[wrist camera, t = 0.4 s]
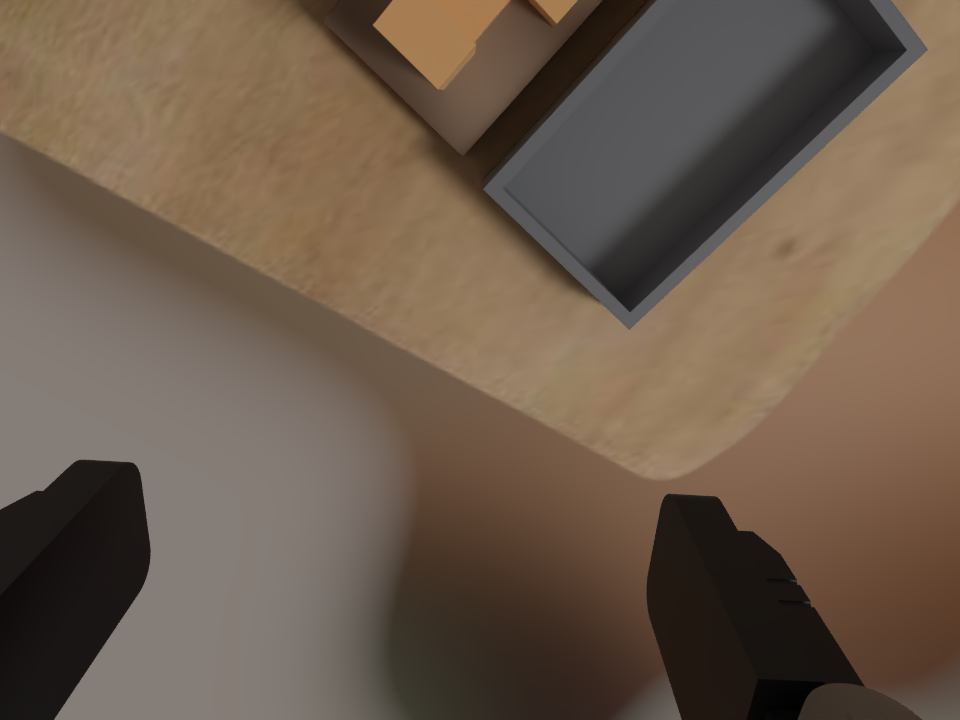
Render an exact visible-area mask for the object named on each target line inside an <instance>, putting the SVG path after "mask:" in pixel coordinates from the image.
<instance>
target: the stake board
mask: <svg viewBox="0 0 960 720" xmlns="http://www.w3.org/2000/svg"><path fill="white" fill-rule="evenodd" d="M392 1H393V0H339V2H338V3H337V4H336V6H335V7H334V8H333V9H332V11H331V12H330V13H329V15H328V16H327V17H326V18H325V20H324V21H323V22H324V23H325V24H326V25H327V26H328V27H329V28H330V29H331V30H332V31H333V32H334V33H335V34H336V35H337V36H338V37H339V38H340V39H341V40H342V41H343V42H344V43H345V44H346V45H347V46H348V47H350V48H351V49H352V50H353V51H354V52H355V53H356V54H357V55H358V56H359V57H360V58H361V59H362V60H363V61H364V62H365V63H366V64H367V65H368V66H369V67H370V68H371V69H372V70H373V71H374V72H375V73H376V74H377V75H378V76H380V77H381V78H382V79H383V80H384V81H385V82H386V83H387V84H388V85H389V86H390V87H391V88H392V89H393V90H394V91H395V92H396V93H397V94H398V95H399V96H400V97H401V98H402V99H403V100H404V101H405V102H406V103H407V104H409V105H410V106H411V107H412V108H413V109H414V110H415V111H416V112H417V113H418V114H419V115H420V116H421V117H422V118H423V119H424V120H425V121H426V122H427V123H428V124H429V125H430V126H431V127H432V128H433V129H434V130H435V131H436V132H438V133H439V134H440V135H441V136H442V137H443V138H444V139H445V140H446V141H447V142H448V143H449V144H450V145H451V146H452V147H453V148H454V149H455V150H456V151H457V152H458V153H459V154H460V155H461V156H462V157H463V156H464V155H465V154H466V153H467V151H468V150H469V149H470V148H471V147H472V146H473V145H474V144H475V142H476V141H477V140H478V139H479V138H480V137H481V136H482V135H483V134H484V132H485V131H486V130H487V129H488V128H489V127H490V126H491V125H492V123H493V122H494V121H495V120H496V119H497V118H498V117H499V116H500V115H501V113H502V112H503V111H504V110H505V109H506V108H507V107H508V106H509V104H510V103H511V102H512V101H513V100H514V99H515V98H516V97H517V96H518V94H519V93H520V92H521V91H522V90H523V89H524V88H525V87H526V85H527V84H528V83H529V82H530V81H531V80H532V79H533V78H534V76H535V75H536V74H537V73H538V72H539V71H540V70H541V69H542V68H543V66H544V65H545V64H546V63H547V62H548V61H549V60H550V59H551V57H552V56H553V55H554V54H555V53H556V52H557V51H558V50H559V49H560V47H561V46H562V45H563V44H564V43H565V42H566V41H567V40H568V38H569V37H570V36H571V35H572V34H573V33H574V32H575V31H576V30H577V28H578V27H579V26H580V25H581V24H582V23H583V22H584V21H585V19H586V18H587V17H588V16H589V15H590V14H591V13H592V12H593V11H594V9H595V8H596V7H597V6H598V5H599V4H600V3H601V2H602V0H578V1H577V2H576V3H575V4H574V5H573V6H572V7H571V8H570V10H569V11H568V12H567V13H566V14H565V15H564V16H563V18H562V19H561V20H560V21H559V22H558V23H557V24H556V25H555V26H554V27H552V26H551V25H550V24H549V22H548V21H547V20H546V19H545V18H544V17H543V16H542V15H541V14H540V13H539V12H538V11H537V9H536V8H535V7H534V6H533V5H532V4H531V3H530V2H529V1H528V0H511V1H510V2H509V3H508V4H507V5H506V7H505V8H504V9H503V10H502V11H501V12H500V14H499V15H498V16H497V17H496V18H495V19H494V21H493V22H492V23H491V24H490V25H489V27H488V28H487V29H486V30H485V31H484V32H483V34H482V35H481V36H480V37H479V38H478V39H477V41H476V42H475V44H476V51H475V54H474V55H473V57H472V58H471V59H470V60H469V61H468V62H467V64H466V65H465V66H464V67H463V68H462V69H461V71H460V72H459V73H458V74H457V75H456V76H455V78H454V79H453V80H452V81H451V82H450V83H449V85H448V86H447V87H446V88H445V89H444V90H439V89H437V88H436V87H435V86H434V85H433V84H432V83H431V82H430V81H429V80H428V79H427V78H426V77H425V76H424V75H423V74H422V73H421V72H420V71H419V70H418V69H417V68H416V67H415V66H414V65H413V64H412V63H411V62H410V61H409V60H408V59H407V58H405V57H404V56H403V55H402V54H401V53H400V52H399V51H398V50H397V49H396V48H395V47H394V46H393V45H392V44H391V43H390V42H389V41H388V40H387V39H386V38H385V37H384V36H383V35H382V34H381V33H380V32H379V31H378V30H377V29H376V28H375V27H374V26H373V24H374V23H375V22H376V21H377V19H378V18H379V17H380V16H381V14H382V13H383V12H384V11H385V9H386V8H387V7H388V6H389V4H390V3H391V2H392Z"/></svg>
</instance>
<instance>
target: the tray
mask: <svg viewBox="0 0 960 720" xmlns="http://www.w3.org/2000/svg"><path fill="white" fill-rule="evenodd" d="M927 50H928V49H927V48H926V46H925V45H924V44H923V42H922V41H921V40H920V38H919V37H918V36H917V34H916V33H915V32H914V30H913V29H912V28H911V26H910V25H909V24H908V22H907V21H906V20H905V18H904V17H903V16H902V14H901V13H900V12H899V10H898V9H897V8H896V6H895V5H894V4H893V2H892V1H891V0H647V1H646V2H645V3H644V4H643V5H642V7H641V8H640V9H639V10H638V11H637V12H636V13H635V14H634V15H633V16H632V18H631V19H630V20H629V21H628V22H627V23H626V24H625V25H624V26H623V27H622V28H621V30H620V31H619V32H618V33H617V34H616V35H615V36H614V37H613V38H612V39H611V40H610V42H609V43H608V44H607V45H606V46H605V47H604V48H603V49H602V50H601V51H600V52H599V54H598V55H597V56H596V57H595V58H594V59H593V60H592V61H591V62H590V63H589V65H588V66H587V67H586V68H585V69H584V70H583V71H582V72H581V73H580V74H579V75H578V77H577V78H576V79H575V80H574V81H573V82H572V83H571V84H570V85H569V86H568V87H567V89H566V90H565V91H564V92H563V93H562V94H561V95H560V96H559V97H558V98H557V99H556V101H555V102H554V103H553V104H552V105H551V106H550V107H549V108H548V109H547V110H546V112H545V113H544V114H543V115H542V116H541V117H540V118H539V119H538V120H537V121H536V122H535V124H534V125H533V126H532V127H531V128H530V129H529V130H528V131H527V132H526V133H525V134H524V136H523V137H522V138H521V139H520V140H519V141H518V142H517V143H516V144H515V145H514V146H513V148H512V149H511V150H510V151H509V152H508V153H507V154H506V155H505V156H504V157H503V159H502V160H501V161H500V162H499V163H498V164H497V165H496V166H495V167H494V168H493V169H492V171H491V172H490V173H489V174H488V175H487V176H486V177H485V178H484V179H483V180H482V186H483V190H484V191H485V192H486V193H487V194H488V195H489V196H490V197H491V198H492V199H493V200H494V201H496V202H497V203H498V204H499V205H500V206H501V207H502V208H503V209H504V210H505V211H506V212H507V213H508V214H509V215H510V216H511V217H512V218H513V219H514V220H515V221H516V222H517V223H518V224H520V225H521V226H522V227H523V228H524V229H525V230H526V231H527V232H528V233H529V234H530V235H531V236H532V237H533V238H534V239H535V240H536V241H537V242H538V243H539V244H540V245H541V246H542V247H543V248H545V249H546V250H547V251H548V252H549V253H550V254H551V255H552V256H553V257H554V258H555V259H556V260H557V261H558V262H559V263H560V264H561V265H562V266H563V267H564V268H565V269H566V270H567V271H568V272H570V273H571V274H572V275H573V276H574V277H575V278H576V279H577V280H578V281H579V282H580V283H581V284H582V285H583V286H584V287H585V288H586V289H587V290H588V291H589V292H590V293H591V294H592V295H594V296H595V297H596V298H597V299H598V300H599V301H600V302H601V303H602V304H603V305H604V306H605V307H606V308H607V309H608V310H609V311H610V312H611V313H612V314H613V315H614V316H615V317H616V318H617V319H619V320H620V321H621V322H622V323H623V324H624V325H625V326H626V327H627V328H628V329H629V330H630V329H631V328H632V327H633V326H634V325H635V324H636V323H637V322H638V321H639V320H640V319H641V318H642V317H643V316H644V315H646V314H647V313H648V312H649V311H650V310H651V309H652V308H653V307H654V306H655V305H656V304H657V303H658V302H659V301H660V300H662V299H663V298H664V297H665V296H666V295H667V294H668V293H669V292H670V291H671V290H672V289H673V288H674V287H675V286H676V285H678V284H679V283H680V282H681V281H682V280H683V279H684V278H685V277H686V276H687V275H688V274H689V273H690V272H691V271H692V270H693V269H695V268H696V267H697V266H698V265H699V264H700V263H701V262H702V261H703V260H704V259H705V258H706V257H707V256H708V255H709V254H711V253H712V252H713V251H714V250H715V249H716V248H717V247H718V246H719V245H720V244H721V243H722V242H723V241H724V240H725V239H727V238H728V237H729V236H730V235H731V234H732V233H733V232H734V231H735V230H736V229H737V228H738V227H739V226H740V225H741V224H743V223H744V222H745V221H746V220H747V219H748V218H749V217H750V216H751V215H752V214H753V213H754V212H755V211H756V210H757V209H758V208H760V207H761V206H762V205H763V204H764V203H765V202H766V201H767V200H768V199H769V198H770V197H771V196H772V195H773V194H774V193H776V192H777V191H778V190H779V189H780V188H781V187H782V186H783V185H784V184H785V183H786V182H787V181H788V180H789V179H790V178H792V177H793V176H794V175H795V174H796V173H797V172H798V171H799V170H800V169H801V168H802V167H803V166H804V165H805V164H806V163H808V162H809V161H810V160H811V159H812V158H813V157H814V156H815V155H816V154H817V153H818V152H819V151H820V150H821V149H822V148H824V147H825V146H826V145H827V144H828V143H829V142H830V141H831V140H832V139H833V138H834V137H835V136H836V135H837V134H838V133H839V132H841V131H842V130H843V129H844V128H845V127H846V126H847V125H848V124H849V123H850V122H851V121H852V120H853V119H854V118H855V117H857V116H858V115H859V114H860V113H861V112H862V111H863V110H864V109H865V108H866V107H867V106H868V105H869V104H870V103H871V102H873V101H874V100H875V99H876V98H877V97H878V96H879V95H880V94H881V93H882V92H883V91H884V90H885V89H886V88H887V87H889V86H890V85H891V84H892V83H893V82H894V81H895V80H896V79H897V78H898V77H899V76H900V75H901V74H902V73H903V72H904V71H906V70H907V69H908V68H909V67H910V66H911V65H912V64H913V63H914V62H915V61H916V60H917V59H918V58H919V57H920V56H922V55H923V54H924V53H925V52H926V51H927Z"/></svg>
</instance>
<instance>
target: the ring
mask: <svg viewBox="0 0 960 720" xmlns="http://www.w3.org/2000/svg"><path fill="white" fill-rule="evenodd" d="M510 1H511V0H393V1H392V2H391V3H390V4H389V6H388V7H387V8H386V9H385V11H384V12H383V13H382V14H381V16H380V17H379V18H378V19H377V21H376V22H375V23H374V24H373V26H374V27H375V28H376V29H377V30H378V31H379V32H380V33H381V34H382V35H383V36H384V37H385V38H386V39H387V40H388V41H389V42H390V43H391V44H392V45H393V46H394V47H395V48H396V49H397V50H398V51H399V52H400V53H401V54H402V55H403V56H404V57H405V58H407V59H408V60H409V61H410V62H411V63H412V64H413V65H414V66H415V67H416V68H417V69H418V70H419V71H420V72H421V73H422V74H423V75H424V76H425V77H426V78H427V79H428V80H429V81H430V82H431V83H432V84H433V85H434V86H435V87H436V88H437V89H439V90H444V89H445V88H446V87H447V86H448V85H449V83H450V82H451V81H452V80H453V79H454V78H455V76H456V75H457V74H458V73H459V72H460V71H461V69H462V68H463V67H464V66H465V65H466V64H467V62H468V61H469V60H470V59H471V58H472V57H473V55H474V54H475V51H476V44H475V42H476V41H477V39H478V38H479V37H480V36H481V35H482V34H483V32H484V31H485V30H486V29H487V28H488V27H489V25H490V24H491V23H492V22H493V21H494V19H495V18H496V17H497V16H498V15H499V14H500V12H501V11H502V10H503V9H504V8H505V7H506V5H507V4H508V3H509V2H510ZM528 1H529V2H530V3H531V4H532V5H533V6H534V7H535V8H536V9H537V11H538V12H539V13H540V14H541V15H542V16H543V17H544V18H545V19H546V20H547V21H548V22H549V24H550V25H551V26H552V27H554V26H555V25H556V24H557V23H558V22H559V21H560V20H561V19H562V18H563V16H564V15H565V14H566V13H567V12H568V11H569V10H570V8H571V7H572V6H573V5H574V4H575V3H576V2H577V1H578V0H528Z"/></svg>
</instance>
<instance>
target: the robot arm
mask: <svg viewBox="0 0 960 720" xmlns="http://www.w3.org/2000/svg"><path fill="white" fill-rule="evenodd" d="M150 551H151V550H150V541H149V533H148V527H147V519H146V512H145V504H144V497H143V489H142V482H141V476H140V472H139V470H138V468H137V466H136V465H135V464H134V463H131V462H114V461H96V460H78V461H76V462H74V463H73V464H72V465H71V466H70V467H69V468H67V469H66V470H65V471H64V472H63V473H62V474H61V475H60V476H59V477H58V478H57V479H56V480H55V481H54V482H52V483H51V484H50V485H49V486H48V487H47V488H46V489H45V490H44V491H35V492H33V493H31V494H30V495H28V496H26V497H24V498H22V499H20V500H18V501H16V502H14V503H12V504H10V505H8V506H7V507H5V508H3V509H1V510H0V720H54V719H55V717H56V716H57V714H58V713H59V711H60V710H61V708H62V707H63V705H64V704H65V702H66V701H67V699H68V698H69V696H70V695H71V693H72V692H73V690H74V689H75V687H76V686H77V684H78V683H79V682H80V680H81V678H82V677H83V675H84V674H85V672H86V671H87V670H88V668H89V667H90V665H91V664H92V662H93V661H94V659H95V658H96V656H97V654H98V653H99V652H100V650H101V649H102V647H103V646H104V644H105V643H106V641H107V640H108V638H109V637H110V635H111V634H112V632H113V631H114V629H115V628H116V626H117V625H118V623H119V622H120V620H121V619H122V617H123V616H124V614H125V613H126V612H127V610H128V609H129V607H130V606H131V604H132V603H133V601H134V600H135V598H136V597H137V595H138V594H139V592H140V590H141V589H142V587H143V585H144V582H145V580H146V577H147V573H148V569H149V564H150ZM810 603H811V602H810V600H809V598H808V597H807V595H806V594H805V592H804V591H803V589H802V587H801V586H800V585H797V579H796V578H795V576H794V575H793V573H792V572H791V570H790V568H789V567H788V565H787V564H786V562H785V561H784V559H783V557H782V556H781V554H779V553H778V552H777V551H776V550H774V549H773V548H772V547H771V546H770V545H768V544H767V543H766V542H765V541H764V540H762V539H761V538H760V537H759V536H758V535H756V534H755V533H754V532H751V531H738V530H737V528H736V526H735V525H734V523H733V521H732V519H731V518H730V516H729V514H728V513H727V511H726V509H725V507H724V506H723V504H722V502H721V501H720V499H718V498H717V497H715V496H696V495H679V494H667V495H666V496H665V497H664V499H663V501H662V504H661V508H660V513H659V519H658V524H657V529H656V534H655V540H654V545H653V550H652V555H651V561H650V566H649V572H648V577H647V606H648V613H649V617H650V621H651V624H652V627H653V630H654V633H655V637H656V640H657V643H658V646H659V649H660V653H661V655H662V659H663V662H664V665H665V668H666V672H667V675H668V678H669V681H670V684H671V687H672V690H673V694H674V697H675V700H676V703H677V706H678V709H679V713H680V716H681V719H682V720H922V719H921V718H920V717H919V716H917V715H916V714H914V712H912V711H911V710H909V709H908V708H907V707H905V706H904V705H902V704H901V703H899V702H898V701H896V700H894V699H892V698H890V697H888V696H886V695H884V694H882V693H880V692H877V691H875V690H872V689H869V688H866V687H865V686H864V684H863V683H862V681H861V680H860V678H859V677H858V675H857V673H856V672H855V670H854V669H853V667H852V666H851V664H850V663H849V661H848V659H847V658H846V656H845V655H844V653H843V652H842V650H841V648H840V647H839V645H838V644H837V642H836V641H835V639H834V638H833V636H832V634H831V633H830V631H829V630H828V628H827V627H826V625H825V623H824V622H823V620H822V619H821V617H820V616H819V614H818V612H817V611H816V609H815V608H814V607H811V604H810Z"/></svg>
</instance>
